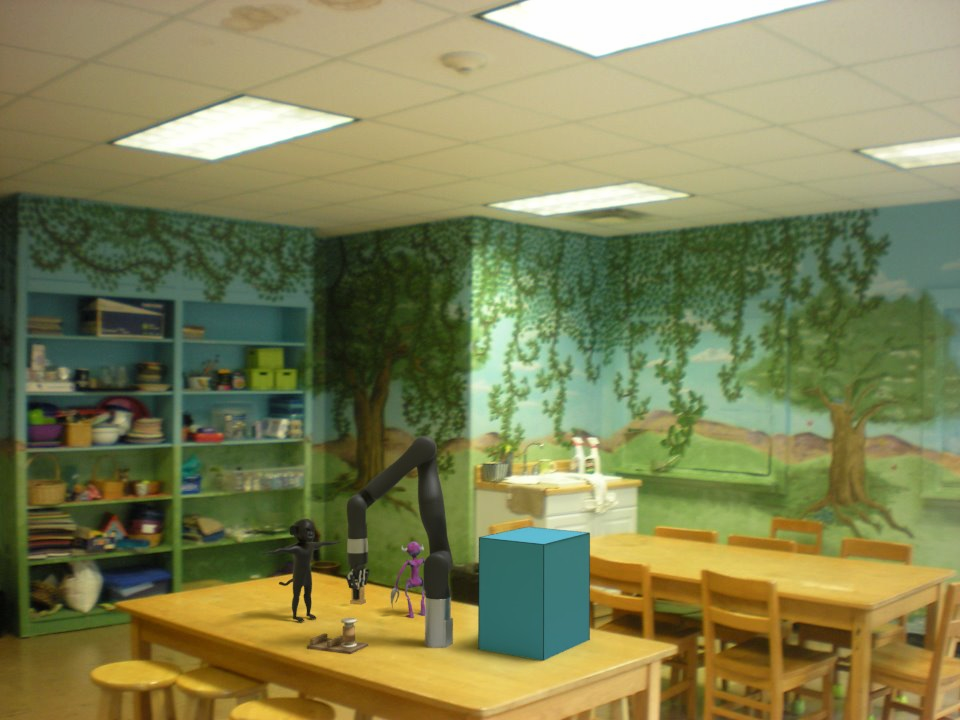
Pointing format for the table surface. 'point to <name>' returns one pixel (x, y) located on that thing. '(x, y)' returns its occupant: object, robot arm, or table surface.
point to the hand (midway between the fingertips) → (358, 598)
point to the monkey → (302, 562)
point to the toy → (415, 580)
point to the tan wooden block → (361, 597)
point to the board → (339, 640)
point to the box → (534, 592)
